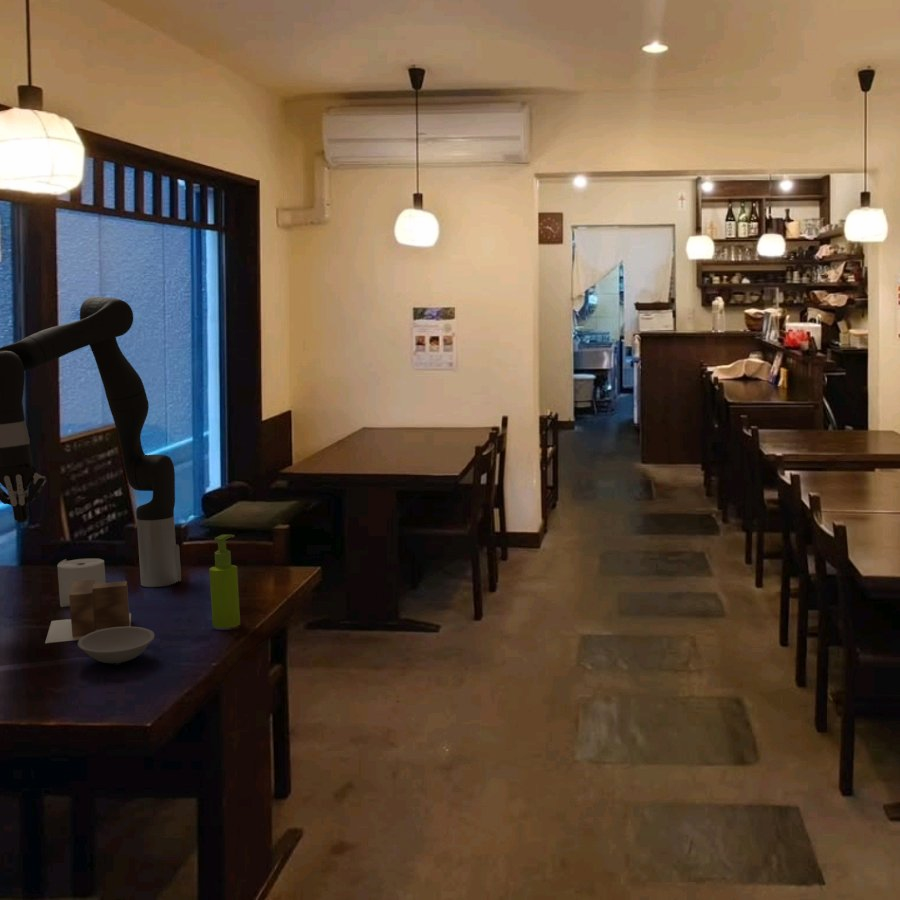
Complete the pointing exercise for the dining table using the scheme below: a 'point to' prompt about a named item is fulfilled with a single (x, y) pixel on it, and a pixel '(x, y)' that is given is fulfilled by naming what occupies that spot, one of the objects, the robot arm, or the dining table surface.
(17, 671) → the dining table surface
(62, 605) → the toilet tissue
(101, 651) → the dish
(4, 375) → the robot arm
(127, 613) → the t block
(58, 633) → the board
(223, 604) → the soap dispenser
